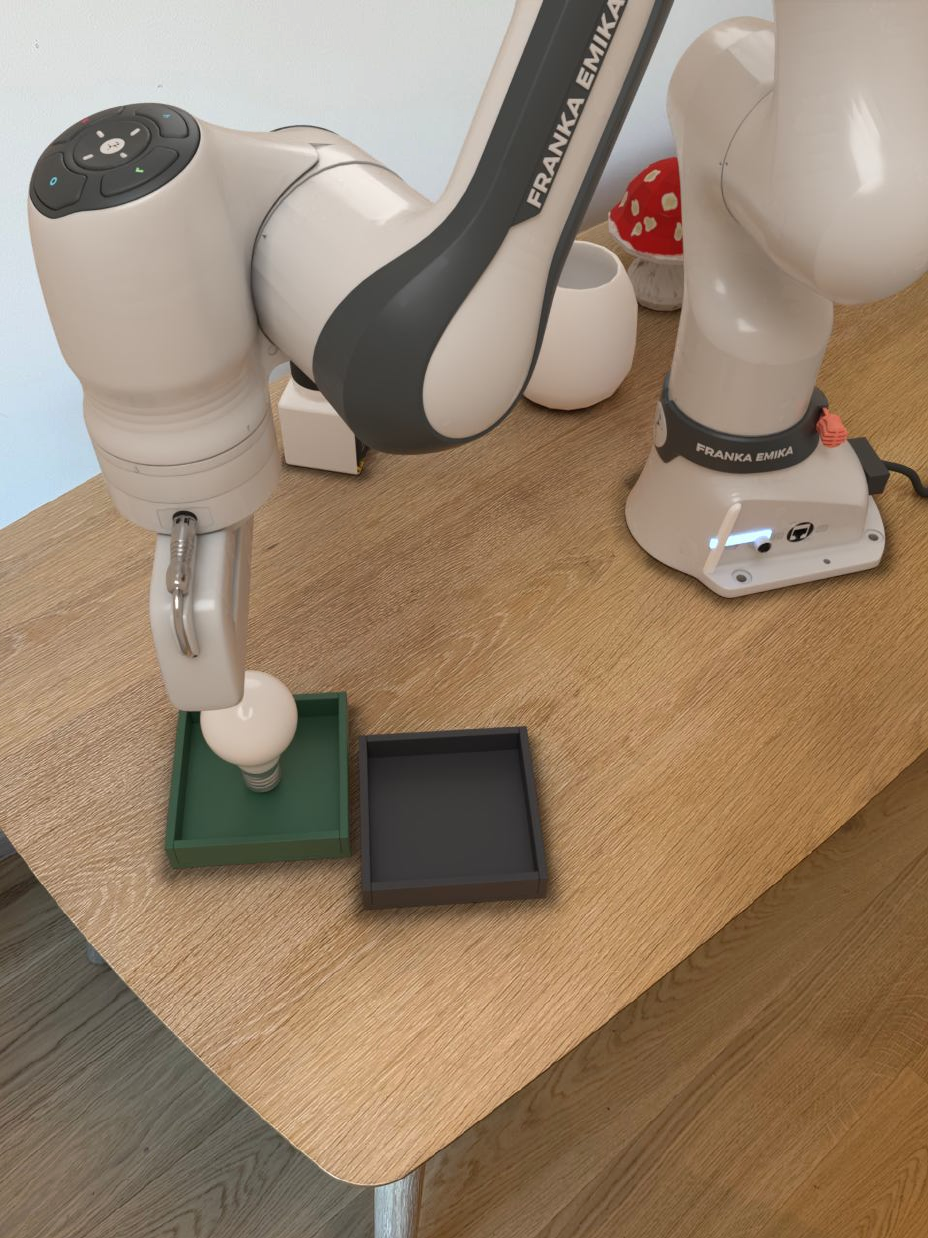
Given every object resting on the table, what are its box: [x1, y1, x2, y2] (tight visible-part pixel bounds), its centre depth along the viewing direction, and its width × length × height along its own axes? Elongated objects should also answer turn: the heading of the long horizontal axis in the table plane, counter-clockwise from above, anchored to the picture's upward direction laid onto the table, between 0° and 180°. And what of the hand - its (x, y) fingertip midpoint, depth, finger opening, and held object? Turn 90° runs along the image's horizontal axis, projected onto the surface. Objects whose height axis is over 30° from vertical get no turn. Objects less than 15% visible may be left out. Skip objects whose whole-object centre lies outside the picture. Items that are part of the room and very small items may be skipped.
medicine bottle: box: [277, 360, 371, 476], centre depth 99 cm, size 7×7×12 cm
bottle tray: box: [357, 725, 549, 911], centre depth 76 cm, size 12×12×3 cm
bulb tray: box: [163, 691, 352, 869], centre depth 78 cm, size 12×12×3 cm
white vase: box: [522, 239, 639, 411], centre depth 105 cm, size 13×13×14 cm
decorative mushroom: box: [607, 156, 684, 312], centre depth 115 cm, size 14×14×15 cm
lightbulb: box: [200, 669, 298, 792], centre depth 75 cm, size 6×6×11 cm
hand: (234, 626), depth 66 cm, fingers open, 8 cm apart
